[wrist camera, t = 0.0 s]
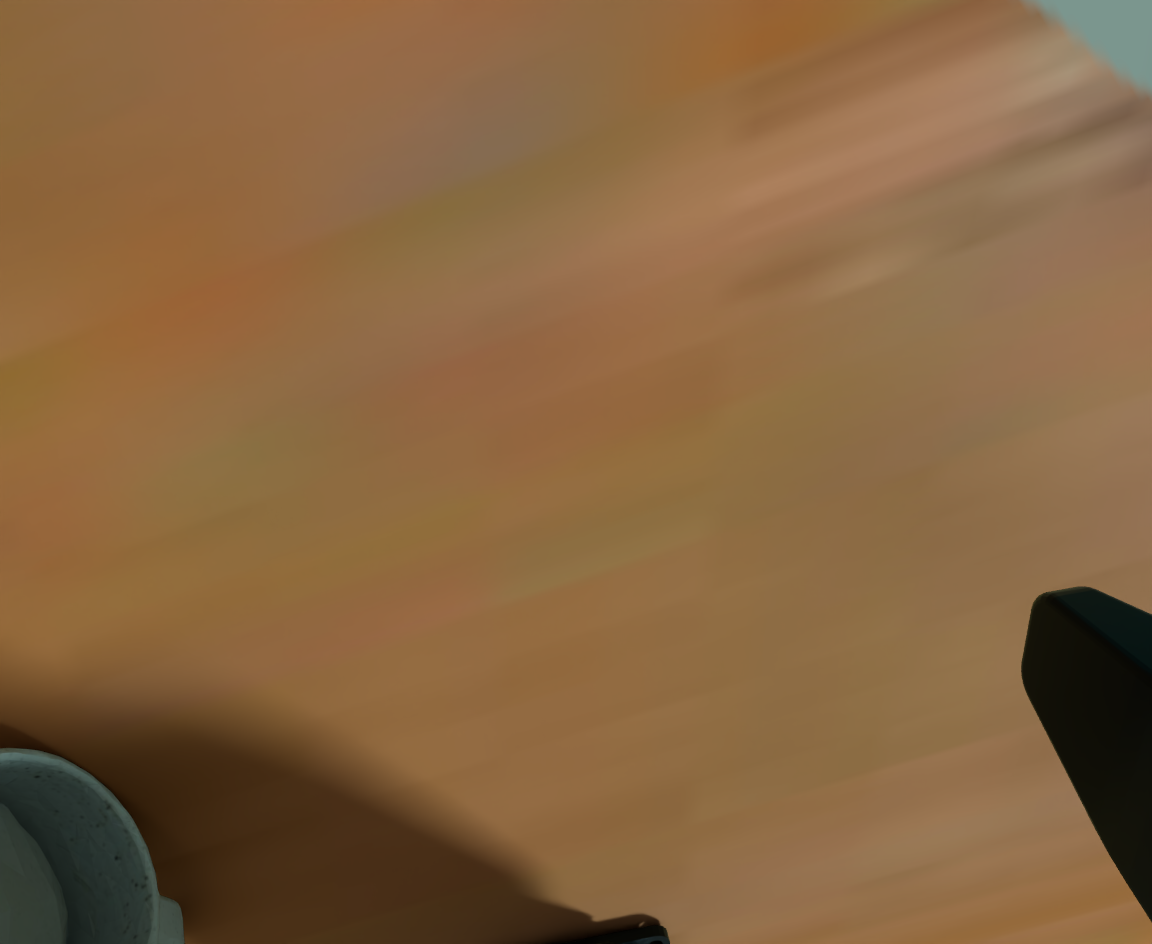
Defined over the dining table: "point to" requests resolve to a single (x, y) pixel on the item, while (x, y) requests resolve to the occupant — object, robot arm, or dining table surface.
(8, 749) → the ceramic mug
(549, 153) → the dining table surface
